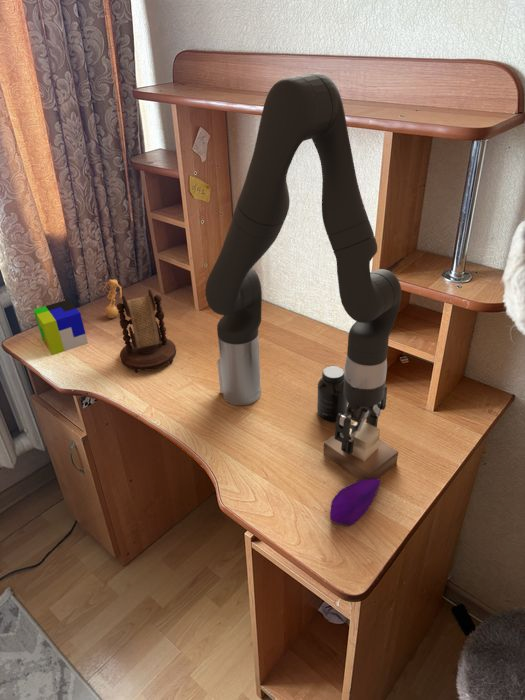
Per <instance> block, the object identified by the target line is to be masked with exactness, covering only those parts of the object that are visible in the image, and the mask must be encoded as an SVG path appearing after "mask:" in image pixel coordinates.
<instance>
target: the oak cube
mask: <svg viewBox="0 0 525 700" xmlns="http://www.w3.org/2000/svg"><path fill="white" fill-rule="evenodd" d="M353 423H354V424H353V425H355V426H356V425H357V424H358V423H357V422H355V421H354V422H353ZM351 432H352V429H351V428H350V433H349V434H351ZM380 436H381V429H380V428H378V427H377V428H376V427H374V426H372V425H370V424H368V423H366V421H364V422H363V425H362V427H361V429H360V431H357V432H356V435H355V437H354V445H353V453H352V455H353V456H355V457H357V458H359V459H361V460H362V461H364V462H365V461H366V460H367V459H368V458H369V457H370V456H371V455H372V454H373V453H374V452H375V451H376V450H377V449H378V445H379V439H380Z"/></svg>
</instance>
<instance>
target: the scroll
mask: <svg viewBox="0 0 525 700" xmlns="http://www.w3.org/2000/svg"><path fill="white" fill-rule="evenodd" d="M147 292H148V294H147V296H142V297H138V298H132V299H128V300H127V299H126V296H125V294H122V303H121V302H119V303H117V304H116V307H117V310H118V314H119V325H120V328H121V329H122V335H123V337H122V339H123V341H124V344H125V345H124V346H123V347H122V349H121V350H120V353H119V357H120V362H121V364H122V365H123V366H124V367H125V368H128V369H130V370H133V372H134V373H135V374H137V373H138V371H151V370H156V369H159V368H161V367H163V366H166V365H168V364H172V363H173V359H174V358H175V357H176V354H177V347H176V345H175V343H174V341H172V340H171V339H169V338H168V337H167V336H166V335H167V333H166V331H167V327H166V326H165V324H166V323H165V322H164V319H165V314H164V311H163V306H162V296H161V295H159V294H155V295H154V294H153V293H154V292H153V291H152V290H151V289H150V288H149V289H148V291H147ZM155 311H156V312H155ZM125 314H126V315H125ZM126 317H128V318H130V319H127V318H126ZM157 320H158V321H157ZM129 325H130V326H129ZM131 325H132V326H131ZM128 326H129V327H128Z"/></svg>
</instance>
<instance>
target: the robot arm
mask: <svg viewBox="0 0 525 700" xmlns="http://www.w3.org/2000/svg"><path fill="white" fill-rule="evenodd" d="M256 136H257V137H256V139H255V144H254V148H253V154H252V157H251V160H250V163H249V167H248V170H247V173H246V177H245V178H244V179H245V181H244V183H243V186H242V188H241V192H240V193H239V197H238V198H237V202H236V206H235V208H234V211H233V214H232V218H231V221H230V222H231V223H230V226H229V228H228V231H227V233H226V235H225V239H224V242H223V244H222V248H221V250H220V252H219V255H218V257H217V259H216V261H215V263H214V266H213V267H212V268H211V269H212V270H211V271H210V274H209V276H208V277H207V280H206V284H205V289H204V290H205V292H204V293H205V299H206V302H207V304H208V307H209V308H210V309H211V311H213V312H214V313H215V314H217V315H220V316H222V317H221V318H220V319H219V320H218V322H217V326H216V330H217V331H216V332H217V341H218V351H219V358H218V359H217V370H218V381H219V382H218V383H219V391H220V393H221V394H222V395H223V396H222V397H223V399H224V400H225V402H227V403H229V404H231V405H234V406H247V405H250V404H253V403H255V402H257V401H258V400H259V399H260V397H261V395H262V388H261V386H262V385H261V363H260V362H261V361H260V359H261V358H260V341H259V340H260V338H259V328H260V325H261V322H262V297H263V296H262V295H263V293H262V284H261V281H260V280H261V279H260V277H259V274H258V273H257V272H256V269H254V266H255V265H256V263H258V261H260V259H262V257H263V256H264V255H265V254H266V253H267V251H268V250H269V249H270V248H271V247H272V246H273V244H274V242H276V240H277V238H278V236H279V234H280V233H281V230H282V228H283V226H284V223H285V221H286V218H287V216H288V213H289V210H290V204H291V202H290V194H289V193H290V192H289V187H288V183H287V176H288V171H289V168H290V166H291V164H292V161H293V159H294V156H295V155H296V153H297V151H298V150H299V148H300V146H301V144H302V143H303V142H304V141H307V140H312V143H313V145H314V147H315V150H316V152H317V155H318V158H319V162H320V166H321V178H322V181H321V182H322V185H321V186H322V188H321V216H322V221H323V227H324V229H325V232H326V236H327V238H328V240H329V243H330V246H331V249H332V251H333V255H334V256H335V259H336V260H335V261H336V262H335V263H336V271H337V272H336V275H337V282H338V291H339V297H340V301H341V305H342V308H343V309H344V311H345V312H346V314H347V315H348V316H349V318H351V319H352V320H354V321H355V323H353V324H352V326H351V327H350V329H349V331H348V337H347V350H346V351H347V353H346V358H345V362H344V363H345V364H344V389H343V393H344V396H345V398H346V400H347V402H348V406H347V410H346V413H345V414H344V415H342V414H340V413H339V414H338V415H337V417H336V422H335V429H334V435H335V437H334V439H336V440H338V441H340V442H342V446H341V450H342V451H343V452H345V453H347V454H349V455H351V454H352V453H353V445H354V437H355V435H356V432H357V431H360V429H361V427H362V425H363V422H366V423H368V424H370V425H372V426H374V427H376V428H378V420H379V417H380V416H381V411H384V410H385V409H386V406H387V396H388V395H387V393H388V386H387V385H386V382H387V381H386V379H387V373H388V372H387V371H388V361H387V360H388V359H387V358H388V351H389V337H390V334H391V332H392V329H393V328H394V325H395V321H396V319H397V315H398V313H399V310H400V307H401V302H402V296H403V295H402V286H401V283H400V281H399V278H398V276H397V275H396V274H395V273H393V272H392V271H390V270H388V269H384V268H379V269H375V270H373V271H371V268H370V267H371V265H370V264H371V263H370V262H371V261H372V259H373V258H374V257H375V255H376V254H377V253H378V244H377V242H378V241H377V240H376V236H375V235H374V231H373V228H372V225H371V222H370V219H369V217H368V213H367V210H366V209H365V203H364V201H363V198H362V195H361V191H360V187H359V183H358V179H357V173H356V168H355V163H354V157H353V152H352V147H351V142H350V141H351V140H350V135H349V131H348V125H347V120H346V114H345V109H344V103H343V99H342V96H341V94H340V90H339V88H338V86H337V84H336V83H335V81H334V80H333V79H332V78H331V77H330V76H329V75H328V74H325V73H323V72H312V73H311V72H310V73H305V74H300V75H294V76H288V77H285V78H282V79H280V80H278V81H277V82H276V83H274V84H273V86H272V87H271V88H270V89H269V91H268V93H267V95H266V98H265V102H264V105H263V108H262V113H261V117H260V122H259V126H258V131H257V134H256ZM365 420H366V421H365ZM352 421H353V422H354V423H355V422H357V423H358V424H357V425H356V426H355V425H353V424H352V423H353V422H352ZM350 428H351V429H352V432H351V434H349V433H350Z"/></svg>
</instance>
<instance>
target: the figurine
mask: <svg viewBox="0 0 525 700" xmlns="http://www.w3.org/2000/svg"><path fill="white" fill-rule="evenodd" d="M108 285H109V291H108V294H107V296H106V298H107V299H108V300H109V301H110V303H109V304H108V305H107V306H106V307H105V310H104V313H105V316H106V317H107V318H109V319H115V318H116V317H117V316H118V315H119V313H118V311H119V310H117V305H115V304H116V299H115V298H116V295H117V293H118V292H117V291H116V289H117V287H118V289H119V296H118V297H119V298H120V299H122V296H123V294H122V291H123V290H122V286H121V285H120V284H119V283H118V280H117V279H109V280H108V281H107V282H106V284H105V285H104V286H103V289H102V291H104V290H105V289H106V288H107V287H108Z"/></svg>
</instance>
